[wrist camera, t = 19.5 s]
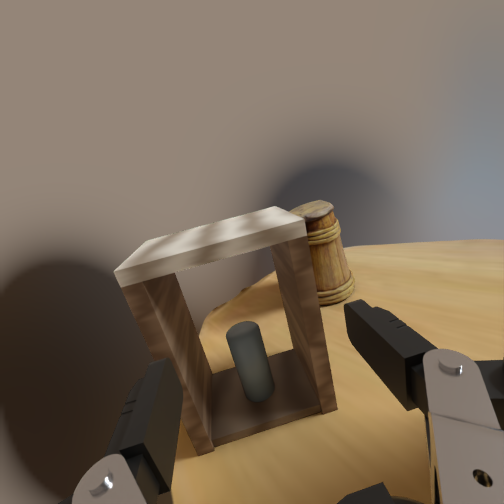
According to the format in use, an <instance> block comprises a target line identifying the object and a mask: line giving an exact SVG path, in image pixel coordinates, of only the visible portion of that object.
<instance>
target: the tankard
mask: <svg viewBox="0 0 504 504" xmlns="http://www.w3.org/2000/svg"><path fill="white" fill-rule="evenodd" d="M333 209H334V207H333V205H332V204H330V203H329V202H326V201H321V200H317V201H313V202H310V203H306V204H304V205H301V206H299V207H297V208H295V209H293V210H291V211H290V213H292V214H294V215H296V216H299V217H301V218H303V219H304V220H305V226H306V231H307V237H308V243H309V248H310V254H311V260H312V266H313V271H314V277H315V283H316V288H317V294H318V300H319V305H329V304H334V303H338V302H341V301H343V300H345V299H346V298H347V297H349V296H350V295H351V294H352V292H353V290H354V283H355V279H354V276H353V273H352V271H351V270H350V269H349V267H348V264H347V260H346V257H345V254H344V250H343V246H342V242H341V239H340V232H341V230H340V227H339V223H338V220H337V219H336V218H335V216H334V213H333Z"/></svg>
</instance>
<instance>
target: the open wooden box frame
mask: <svg viewBox="0 0 504 504" xmlns="http://www.w3.org/2000/svg"><path fill="white" fill-rule="evenodd" d="M267 246H270V248H271V252H272V256H273V261H274V265H275V270H276V274H277V278H278V283H279V287H280V292H281V296H282V300H283V305H284V309H285V313H286V318H287V322H288V327H289V331H290V335H291V340H292V344H293V348H294V349H291V350H288V351H285V352H282V353H278V354H275V355H272V356H269V357H267V358H268V362H269V365H270V369H271V373H272V376H273V380H274V383H275V389H274V392H273V394H272V395H271V396H270V397H269V398H268V399H266V400H264V401H262V402H252V401H250V400H248V399H247V398H246V396H245V393H244V390H243V387H242V384H241V381H240V378H239V375H238V372H237V369H236V367H234V368H231V369H227V370H224V371H221V372H218V373H215V374H212V371H211V369H210V366H209V363H208V361H207V358H206V355H205V353H204V350H203V347H202V344H201V342H200V339H199V336H198V334H197V332H196V328H195V326H194V323H193V320H192V318H191V315H190V312H189V310H188V307H187V305H186V302H185V299H184V296H183V294H182V291H181V289H180V286H179V283H178V281H177V278H176V275H175V272H178V271H182V270H185V269H189V268H192V267H196V266H200V265H203V264H207V263H210V262H214V261H218V260H221V259H225V258H228V257H232V256H235V255H239V254H243V253H246V252H249V251H253V250H257V249H260V248H264V247H267ZM114 274H115V276H116V278H117V280H118V282H119V285H120V287H121V289H122V291H123V293H124V295H125V298H126V300H127V302H128V304H129V306H130V309H131V311H132V313H133V315H134V317H135V319H136V321H137V324H138V326H139V328H140V330H141V333H142V335H143V337H144V339H145V341H146V343H147V345H148V347H149V350H150V352H151V354H152V356H153V359H154V361H157V360H161V359H164V358H167V357H168V358H170V360H171V362H172V364H173V366H174V368H175V371H176V373H177V375H178V378H179V380H180V382H181V385H182V389H183V404H182V412H181V419H182V422H183V424H184V426H185V428H186V430H187V432H188V435H189V437H190V439H191V441H192V443H193V445H194V448H195V450H196V452H197V454H198V456H200V455H203V454H206V453H209V452H212V451H214V447H217V446H220V445H223V444H226V443H229V442H232V441H235V440H238V439H241V438H244V437H247V436H250V435H253V434H256V433H259V432H262V431H265V430H268V429H271V428H274V427H276V426H279V425H282V424H285V423H288V422H291V421H294V420H297V419H300V418H303V417H306V416H309V415H312V414H315V413H318V412H321V411H322V413H323V414H326V413H329V412H331V411H334V410H337V403H336V397H335V391H334V386H333V380H332V374H331V369H330V363H329V357H328V351H327V346H326V340H325V334H324V329H323V323H322V317H321V311H320V306H319V300H318V294H317V288H316V283H315V277H314V271H313V266H312V260H311V254H310V248H309V243H308V237H307V231H306V226H305V220H304V219H303V218H301V217H299V216H296V215H294V214H292V213H290V212H287V211H285V210H283V209H280V208H278V207H276V206H274V207H270V208H267V209H263V210H259V211H256V212H252V213H248V214H245V215H240V216H237V217H233V218H229V219H226V220H222V221H218V222H215V223H211V224H207V225H203V226H200V227H196V228H192V229H189V230H185V231H181V232H177V233H173V234H170V235H166V236H162V237H159V238H155V239H151V240H148V241H146V242H145V243H144V244H143V245H142V246H140V247H139V248H138V249H137V250H136V251H135V252H134V253H133V254H132V255H131V256H130V257H129V258H128V259H126V260H125V261H124V262H123V263H122V264H121V265H120V266H119V267H118V268H117V269H116V270H115V271H114Z"/></svg>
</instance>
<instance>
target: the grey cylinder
mask: <svg viewBox="0 0 504 504" xmlns="http://www.w3.org/2000/svg"><path fill="white" fill-rule="evenodd" d="M226 339H227V342H228V345H229V348H230V351H231V354H232V357H233V360H234V363H235V366H236V369H237V372H238V375H239V378H240V381H241V384H242V387H243V390H244V393H245V396H246V398H247V399H248V400H250V401H252V402H262V401H264V400H266V399H268V398H269V397H270V396H271V395H272V394H273V392H274V389H275V383H274V380H273V376H272V373H271V369H270V365H269V362H268V358H267V354H266V351H265V347H264V343H263V340H262V336H261V332H260V329H259V326H258V324H256V323H255V322H251V321H245V322H241V323H238V324H236V325H234V326H232V327H231V328H230V329H229V330H228V332H227V334H226Z"/></svg>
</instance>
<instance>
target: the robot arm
mask: <svg viewBox="0 0 504 504" xmlns="http://www.w3.org/2000/svg"><path fill="white" fill-rule="evenodd" d="M344 313H345V320H346V327H347V333H348V337H349V339H350V341H351V343H352V345H353V346H354V347H355V349H356V350H357V351H358V352H359V354H360V355H361V356H362V357H363V358H364V360H365V361H366V362H367V363H368V364H369V366H370V367H371V368H372V369H373V370H374V372H375V373H376V374H377V375H378V376H379V378H380V379H381V380H382V381H383V382H384V384H385V385H386V386H387V387H388V389H389V390H390V391H391V392H392V393H393V395H394V396H395V397H396V398H397V399H398V401H399V402H400V403H401V404H402V405H403V407H404V408H405V409H406V410H407V411H410V410H412V409H415V408H419V409H420V410H421V411H422V412H423V414H424V422H425V432H426V442H427V452H428V462H429V472H430V484H431V500H432V504H504V359H503V360H488V361H473V360H471V359H470V358H469V357H467V356H465V355H463V354H461V353H459V352H456V351H453V350H448V349H438V348H437V347H435V346H434V345H433V344H431V343H430V342H429V341H427V340H426V339H425V338H423V337H422V336H421V335H420V334H418V333H417V332H416V331H414V330H413V329H412V328H410V327H409V326H407V325H406V324H405V323H404V322H402V321H401V320H399V319H398V318H397V317H396V316H395V315H393V314H392V313H391V312H389V311H387V310H384V309H382V308H379V307H374V308H372V307H371V306H369V305H368V304H367V303H366V302H365V301H363V300H362V299H360V300H356V301H353V302H350V303H346V304H344ZM182 404H183V389H182V385H181V382H180V380H179V378H178V375H177V373H176V371H175V368H174V366H173V364H172V362H171V360H170V358H168V357H167V358H164V359H161V360H157V361H154V362H151V363H150V364H149V366H148V368H147V371H146V374H145V377H144V378H141V379H139V380H138V381H137V382H136V384H135V385H134V386H133V388H132V389H131V390H130V392H129V395H128V398H127V400H126V402H125V406H124V408H123V410H122V413H121V416H120V418H119V420H118V423H117V426H116V428H115V430H114V433H113V435H112V438H111V440H110V443H109V446H108V448H107V451H106V453H105V456H104V458H103V459H101V460H99V461H98V462H97V463H96V464H94V465H93V466H92V467H91V468H90V469H89V470H88V471H87V472H86V474H85V475H84V476H83V477H82V479H81V480H80V482H79V484H78V485H77V487H76V489H75V492H74V494H72V495H71V496H69V497H68V498H66V499H65V500H63V501H61V502H60V503H58V504H157V499H158V495H160V494H163V493H166V492H169V491H171V484H172V476H173V469H174V462H175V455H176V448H177V440H178V433H179V426H180V419H181V412H182ZM337 504H424V503H421V502H419V501H416V500H412V499H409V498H404V497H398V496H390V494H389V493H388V491H387V489H386V487H385V485H384V484H383V482H382V483H379V484H376V485H373V486H371V487H368V488H365V489H362V490H360V491H357V492H354V493H351V494H349V495H346V496H345V497H344V498H343V499H342V500H341V501H339V502H338V503H337Z"/></svg>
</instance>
